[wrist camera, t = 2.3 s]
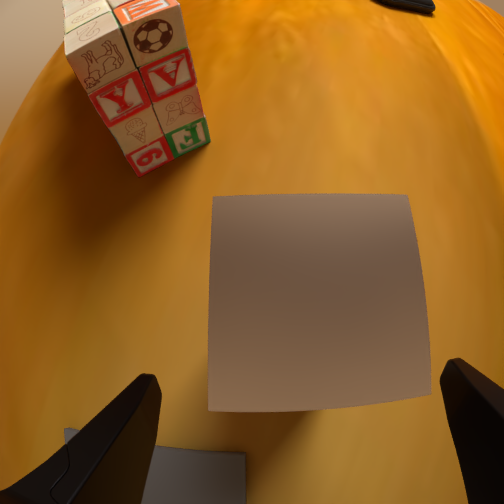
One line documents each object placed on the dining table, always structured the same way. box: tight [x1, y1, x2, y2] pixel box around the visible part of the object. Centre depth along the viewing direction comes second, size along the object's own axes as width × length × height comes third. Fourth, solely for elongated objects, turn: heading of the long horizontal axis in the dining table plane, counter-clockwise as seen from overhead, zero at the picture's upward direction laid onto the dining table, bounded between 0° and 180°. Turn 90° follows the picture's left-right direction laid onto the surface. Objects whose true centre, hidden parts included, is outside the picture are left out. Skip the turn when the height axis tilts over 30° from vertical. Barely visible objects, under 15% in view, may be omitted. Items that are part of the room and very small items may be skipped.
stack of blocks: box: [62, 0, 211, 177], centre depth 21 cm, size 21×6×12 cm, turn 28°
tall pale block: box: [208, 194, 431, 412], centre depth 12 cm, size 5×5×12 cm
